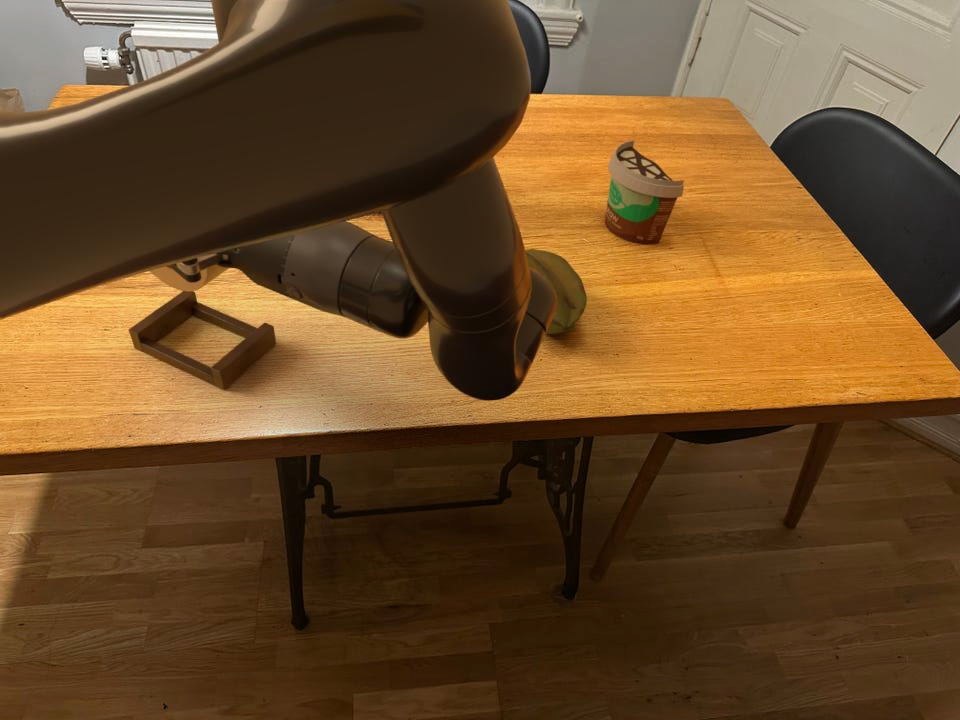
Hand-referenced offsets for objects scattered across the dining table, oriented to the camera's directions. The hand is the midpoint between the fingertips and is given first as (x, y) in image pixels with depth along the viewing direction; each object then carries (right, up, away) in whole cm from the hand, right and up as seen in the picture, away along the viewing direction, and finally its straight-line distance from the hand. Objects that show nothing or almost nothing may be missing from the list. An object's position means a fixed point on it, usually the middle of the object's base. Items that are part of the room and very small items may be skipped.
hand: (156, 197), depth 62 cm
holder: (0, -13, +11) cm, 17 cm away
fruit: (+36, -9, +20) cm, 42 cm away
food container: (+48, +4, +35) cm, 60 cm away
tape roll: (+1, -6, +5) cm, 8 cm away
